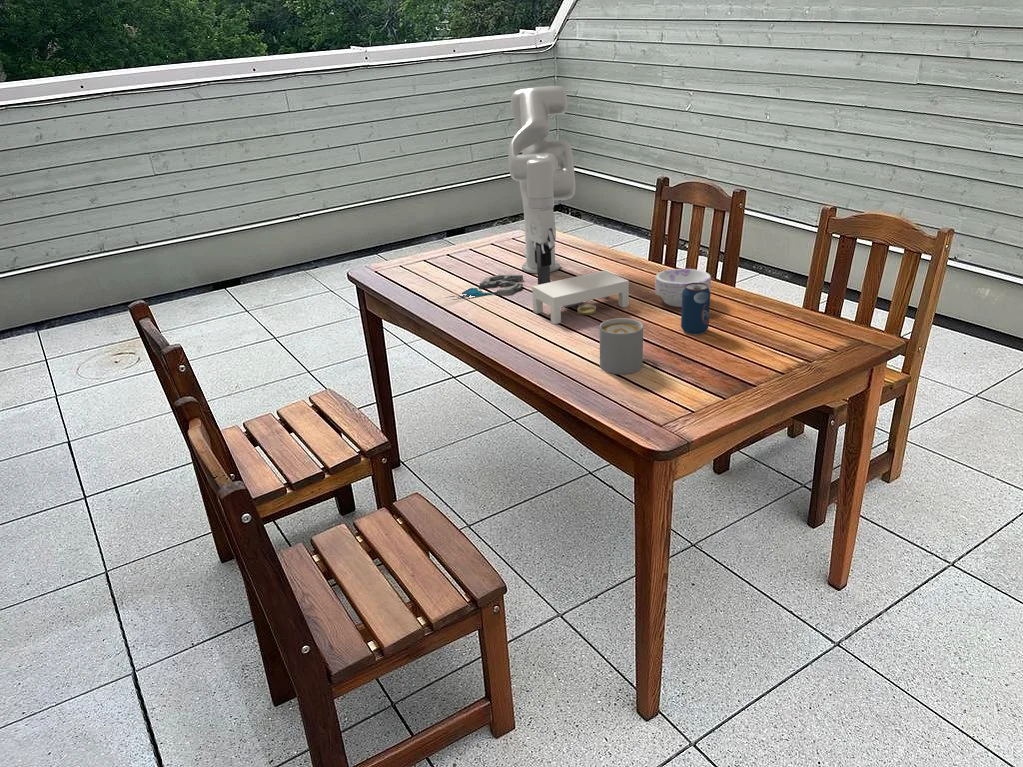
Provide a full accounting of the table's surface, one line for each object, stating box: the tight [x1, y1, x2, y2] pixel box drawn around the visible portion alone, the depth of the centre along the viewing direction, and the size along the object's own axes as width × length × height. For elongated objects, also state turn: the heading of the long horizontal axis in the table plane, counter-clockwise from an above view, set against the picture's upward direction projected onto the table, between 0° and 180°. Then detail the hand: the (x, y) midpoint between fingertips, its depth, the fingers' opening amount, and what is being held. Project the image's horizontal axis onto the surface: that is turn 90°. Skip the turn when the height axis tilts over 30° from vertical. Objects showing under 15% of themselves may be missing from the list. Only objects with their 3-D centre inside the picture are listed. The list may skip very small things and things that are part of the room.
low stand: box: [531, 270, 630, 325], centre depth 216 cm, size 12×24×8 cm, turn 117°
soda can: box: [680, 283, 711, 336], centre depth 196 cm, size 7×7×12 cm
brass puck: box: [577, 303, 597, 316], centre depth 215 cm, size 5×5×2 cm
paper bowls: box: [654, 268, 712, 308], centre depth 216 cm, size 15×15×8 cm
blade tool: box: [536, 244, 584, 308], centre depth 225 cm, size 19×6×14 cm, turn 27°
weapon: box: [461, 274, 524, 300], centre depth 236 cm, size 34×2×15 cm
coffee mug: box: [598, 317, 644, 375], centre depth 180 cm, size 13×10×10 cm
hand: (543, 263), depth 231 cm, fingers open, 3 cm apart
